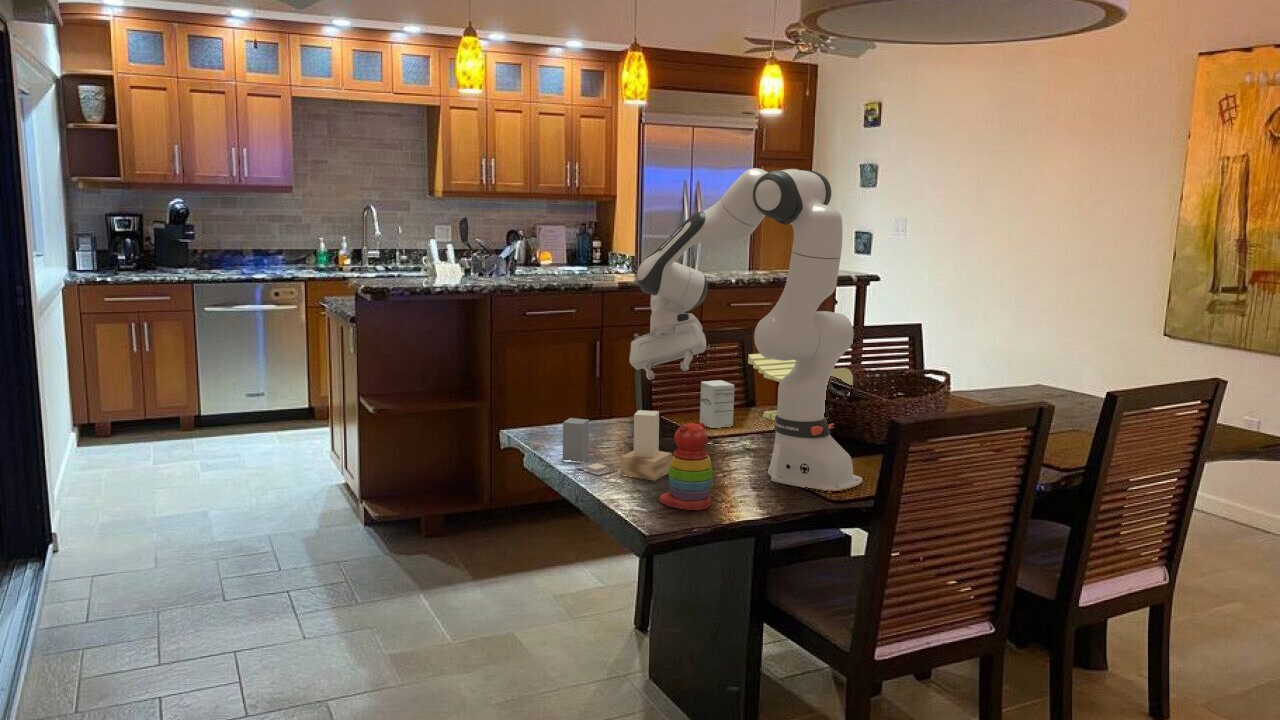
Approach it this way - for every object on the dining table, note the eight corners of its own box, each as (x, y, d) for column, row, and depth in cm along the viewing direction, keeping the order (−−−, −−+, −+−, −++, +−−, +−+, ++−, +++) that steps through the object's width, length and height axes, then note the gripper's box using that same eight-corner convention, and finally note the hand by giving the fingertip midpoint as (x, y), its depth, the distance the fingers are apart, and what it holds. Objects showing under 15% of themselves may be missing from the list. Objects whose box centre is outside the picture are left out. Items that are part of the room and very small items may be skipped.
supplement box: (698, 423, 278) (700, 381, 276) (721, 421, 281) (722, 379, 279) (711, 429, 272) (712, 385, 270) (733, 427, 275) (735, 384, 273)
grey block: (588, 458, 239) (588, 419, 237) (581, 463, 234) (582, 424, 233) (569, 456, 240) (569, 418, 239) (562, 461, 236) (562, 422, 234)
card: (617, 471, 228) (617, 467, 228) (598, 476, 224) (598, 472, 224) (594, 464, 234) (594, 460, 234) (576, 468, 230) (576, 464, 229)
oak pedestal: (671, 473, 229) (672, 453, 228) (654, 482, 221) (655, 461, 220) (638, 467, 233) (638, 447, 232) (620, 476, 225) (620, 456, 224)
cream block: (658, 452, 228) (659, 411, 226) (654, 457, 223) (655, 415, 222) (638, 450, 229) (638, 410, 227) (633, 456, 224) (634, 414, 223)
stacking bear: (697, 494, 212) (700, 415, 209) (723, 507, 203) (725, 425, 200) (655, 500, 207) (657, 420, 204) (679, 514, 198) (681, 430, 195)
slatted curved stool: (850, 427, 277) (853, 367, 274) (805, 432, 270) (809, 370, 267) (788, 406, 304) (790, 351, 301) (746, 411, 296) (748, 354, 293)
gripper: (625, 332, 247) (624, 377, 240) (698, 311, 240) (699, 357, 232) (636, 345, 252) (635, 389, 244) (708, 325, 244) (709, 370, 237)
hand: (667, 373), depth 238 cm, fingers open, 8 cm apart
